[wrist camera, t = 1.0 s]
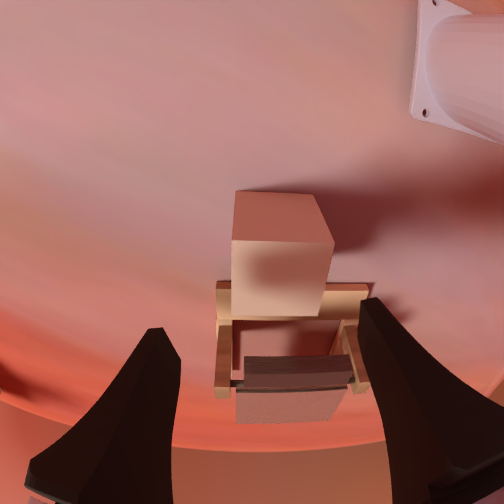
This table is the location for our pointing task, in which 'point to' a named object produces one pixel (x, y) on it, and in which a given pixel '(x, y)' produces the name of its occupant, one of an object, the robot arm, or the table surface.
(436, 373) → the robot arm
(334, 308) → the frame
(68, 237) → the table surface
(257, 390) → the trapdoor
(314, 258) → the beige block
